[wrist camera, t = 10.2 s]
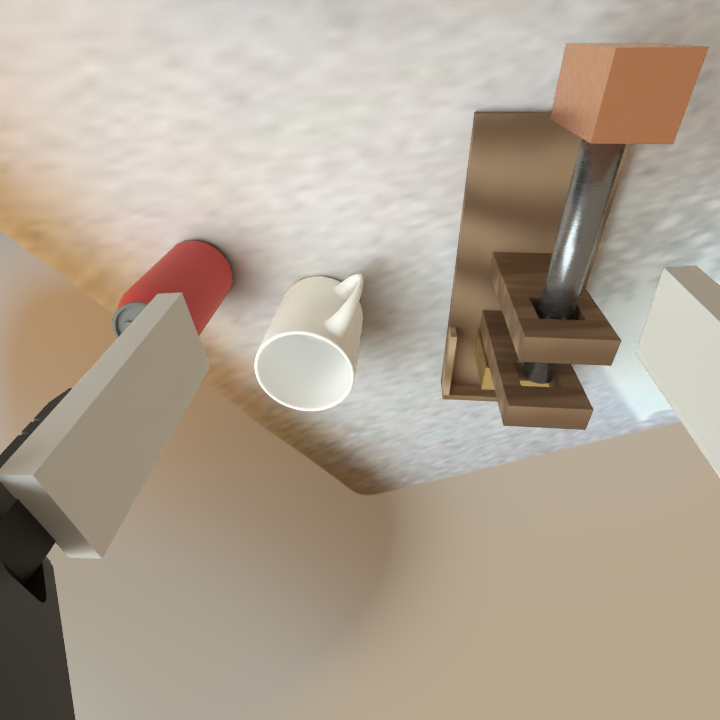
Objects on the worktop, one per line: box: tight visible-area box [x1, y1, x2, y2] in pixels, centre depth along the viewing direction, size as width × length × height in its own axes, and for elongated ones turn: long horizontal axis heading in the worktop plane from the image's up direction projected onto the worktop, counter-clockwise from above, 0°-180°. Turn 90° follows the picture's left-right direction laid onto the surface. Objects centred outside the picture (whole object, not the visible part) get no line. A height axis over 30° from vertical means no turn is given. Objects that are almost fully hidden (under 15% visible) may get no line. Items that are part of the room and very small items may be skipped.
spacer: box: [473, 329, 549, 390], centre depth 43 cm, size 2×6×6 cm, turn 91°
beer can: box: [112, 241, 233, 338], centre depth 40 cm, size 7×7×12 cm
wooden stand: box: [441, 112, 631, 430], centre depth 37 cm, size 27×12×15 cm, turn 1°
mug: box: [255, 274, 363, 411], centre depth 42 cm, size 9×12×11 cm
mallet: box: [522, 43, 709, 384], centre depth 30 cm, size 22×4×8 cm, turn 1°
